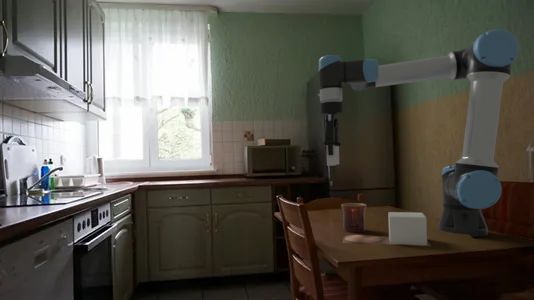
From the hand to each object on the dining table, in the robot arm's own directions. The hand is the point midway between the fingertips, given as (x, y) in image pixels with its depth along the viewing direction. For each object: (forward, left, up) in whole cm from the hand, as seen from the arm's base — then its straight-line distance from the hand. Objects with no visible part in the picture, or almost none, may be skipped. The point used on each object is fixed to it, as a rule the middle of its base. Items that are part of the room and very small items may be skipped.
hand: (333, 165), depth 125 cm
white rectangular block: (-22, +6, -23) cm, 33 cm away
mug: (-6, -6, -25) cm, 26 cm away
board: (-16, +6, -24) cm, 30 cm away
